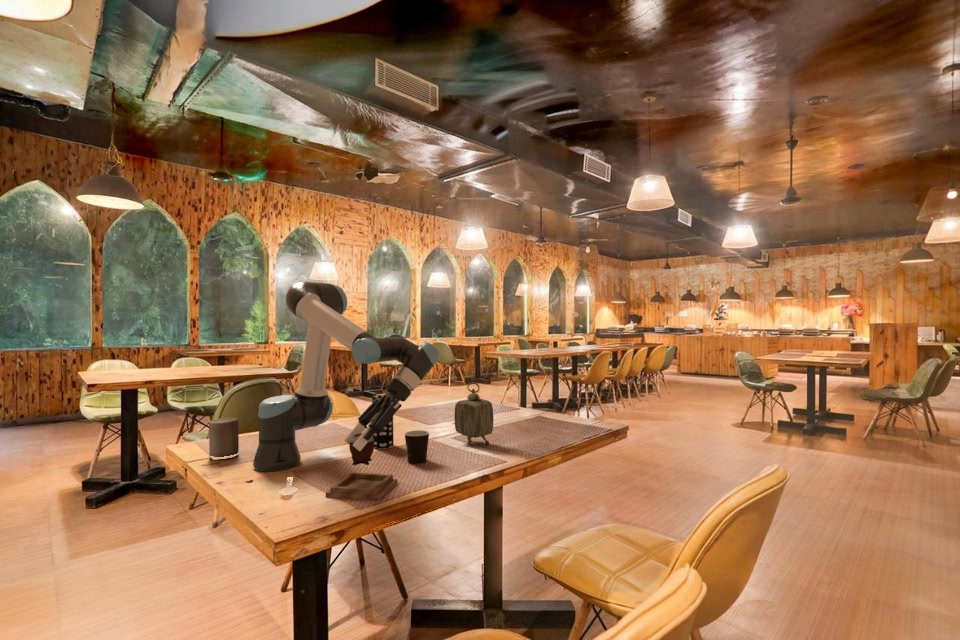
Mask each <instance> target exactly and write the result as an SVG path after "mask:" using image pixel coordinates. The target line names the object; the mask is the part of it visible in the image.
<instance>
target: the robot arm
mask: <svg viewBox="0 0 960 640" xmlns="http://www.w3.org/2000/svg"><path fill="white" fill-rule="evenodd" d="M285 303H286V304H285V305H286V307H287V309H288V310H289V312H290V313H292V314H293V316H295V317H297V318H299V319H300V320H303V321H307V322H308V325H307V333H306V334H307V335H306V341H305V348H304V356H303V363H302V372H301V379H300V385H299V386H298V387H297V388H296V389H295V391H294V395H292V394H282V395H276V396H271V397H269V398H265V399H264V400H262V401H261V402H260V403H259V406H258V414H257V415H258V446H257V449H256V451H255V455H254V459H253V463H252V466H253V467H254V468H255V469H257V470H256V471H258V470H262V471H261V472H277V471H276V470H278V471H282V470H283V469H284V470H288V469H287V468H289V469H291V467H292V468H294V466H295V467H297V466H298V464H299V465H300V464H301V463H300V462H302V459H301V458H302V457H301V453H300V451H299V448H298V445H297V442H296V431H300V430H304V429H307V428H313V427H317V426H320V425H323V424H324V423H326V422H327V421H328V420H329V419H330V417H331V416H332V413H333V408H334V405H333V402H332V398H331V397H330V396H329V391H328V390H327V389H326V388H325V386H326V380H327V374H328V373H327V372H328V365H329V358H330V352H331V343H332V339H334V340H335V341H337V342H339V343H340V344H341V345H342V346H344V347H346V348H347V349H349V350H350V351H351V355H352V357H353V358H354V359H353V360H354V361H356V362H357V363H359V364H366V365H369V364H370V365H371V364H376V363H383V362H384V363H385V362H392V361H396V362H399V363H400V364H402V366H401V367H400V368H399V370H398V371H397V372H396V373H395V374H394V376H393V378H391V379H390V381H388V382H387V384H386V386H385V388H386V390H387V392H386V393H384V394H382V395H383V396H382V397H381V396H380V395H381V394H377V395H378V396H377V398H376V399H375V401H374V402H373V403H372V402H371V404H370V405H369V406H368V407H367V408H366V409H365V410H364V411H363V412H362V414H361V415H359V417H358V418H357V419H358V422H357V424H356V425H355V427H353V429H352V430H351V431H350V432H349V433H348V434H347V436H346V437H345V438H344V439H343V441H344V442H345V443H347V444H348V446H349V445H350V440H351V438H352V437H353V436H354V435H356V434H362V435H361V436H360V437H359V438H358V439H357V441H356V442H355V443H354V444H353V446H354V447H355V448H356V449H357V450H359V451H361V450H362V449H363V447H364V446H365V445H366V444H367V442H368V441H369V440H370V439H371V438H372V436H373V435H374V434H375V432H376V433H377V432H378V431H379V432H381V431H382V430H383V429H384V428H385V426H386V425H387V424H388V422H389V421H390V419H391V418H392V417H393V418H394V416H395V414H396V413H397V412H398V410H400V409H401V407H402V404H401V403H400V402H406V401H407V400H408V398H409V397H410V396H411V395H412V392H413V391H414V390H415V389H416V388H418V387H419V384H420V383H421V382H422V380H423V379H424V378H425V377H426V376H427V374H428V373H430V371H431V370H432V368H434V366H435V365H436V364H437V362H439V361H438V360H439V359H441V354H440V351H439V349H438V348H437V347H436V346H435V345H434V344H432V343H431V342H427V341H424V342H422V343H421V344H420V345H418V344H416V343H414V342H412V341H410V340H408V339H407V338H405V337H403V336H402V335H400V334H397V333H395V332H388V333H387V334H385V335H384V336H383V337H376V336H374V335H372V334H371V333H369V332H368V331H367V330H366V329H364V328H362V327H361V326H359V325H357V324H356V323H354V322H353V321H352V320H350V319H348V318H347V317H345V316H344V315H343V314H345V312H346V310H347V307H348V297H347V293H345V291H344V289H343V288H342V287H341V286H339V285H337V284H333V283H328V282H326V283H325V282H313V281H300V282H296V283H294V284H292V285H291V286H290V288H288V290H287V292H286V295H285ZM377 413H378V415H377V416H376V418H375V420H374V421H373V423H372V424H370V422H371V419H372V418H373V417H374V416H375V415H376V414H377ZM369 427H370V428H369ZM296 465H297V466H296ZM253 467H252V468H253ZM254 468H253V469H254ZM255 469H254V470H255ZM284 470H283V471H284Z"/></svg>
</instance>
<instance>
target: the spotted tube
mask: <svg viewBox="0 0 960 640" xmlns="http://www.w3.org/2000/svg"><path fill="white" fill-rule="evenodd" d="M378 395H380V396H381V397H382V396H383V395H384V394H375V395H373V396H371V404H372V403H373V402H374V401H375V399H376V398H377V396H378ZM375 418H376V417H375ZM375 418H374V420H375ZM372 437H373V439H374V449H375V448H388V449H390V448H389V447H391V448H393V447H394V446H393V445H394V416H393V417H392V418H391V419H390V421H389V422H388V424H387V425H386V426H385V428H384V429H383V430H382V431H381V432H379V431H378V432H377V433H376V432H375V434H374V435H373V436H372ZM392 446H393V447H392Z"/></svg>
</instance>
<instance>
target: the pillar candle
mask: <svg viewBox="0 0 960 640" xmlns="http://www.w3.org/2000/svg"><path fill="white" fill-rule="evenodd" d="M208 438H209V439H208V440H209V441H208V442H209V444H208V448H209V449H208V451H209V457H210V456H214V457H224V456H230V455H234V454H237V453H238V452H239V447H240V446H239V442H240V441H239V418H238V417H225V416H223V417H222V418H216V419H213V420H209V421H208ZM239 453H240V452H239Z"/></svg>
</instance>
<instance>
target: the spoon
mask: <svg viewBox="0 0 960 640" xmlns="http://www.w3.org/2000/svg"><path fill="white" fill-rule="evenodd" d="M285 481H286V486H285V487H283V488H281V489H278V494H279V495H281V496H284V497H288V496H291V495H294V494H296V493H297V492H298V490H299V488H298V487H296V486H293V483H292V484H291V485H292V486H291V485H289V484H290V483H291V482H289V481H291V480H290V479H289V481H288V480H287V479H286V480H285ZM287 483H288V484H287ZM287 495H288V496H287Z"/></svg>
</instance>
